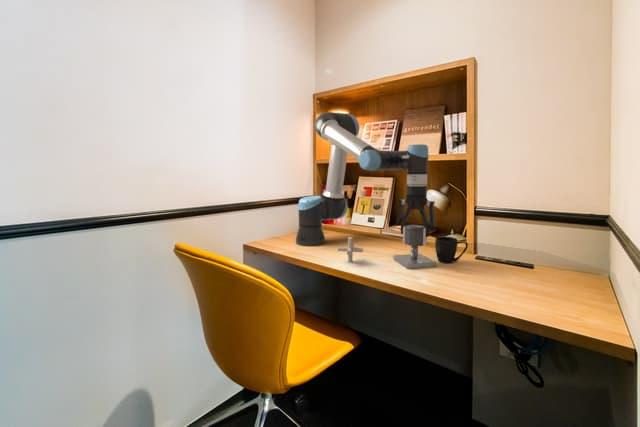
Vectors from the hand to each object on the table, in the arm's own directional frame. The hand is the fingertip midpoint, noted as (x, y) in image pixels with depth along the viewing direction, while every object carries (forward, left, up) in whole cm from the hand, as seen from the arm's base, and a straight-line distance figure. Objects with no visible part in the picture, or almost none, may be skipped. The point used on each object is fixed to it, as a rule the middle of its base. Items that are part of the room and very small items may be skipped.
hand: (414, 243), depth 125 cm
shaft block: (0, 0, -8) cm, 8 cm away
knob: (0, 0, 0) cm, 0 cm away
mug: (+2, +15, -8) cm, 17 cm away
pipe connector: (-8, -24, -8) cm, 27 cm away
